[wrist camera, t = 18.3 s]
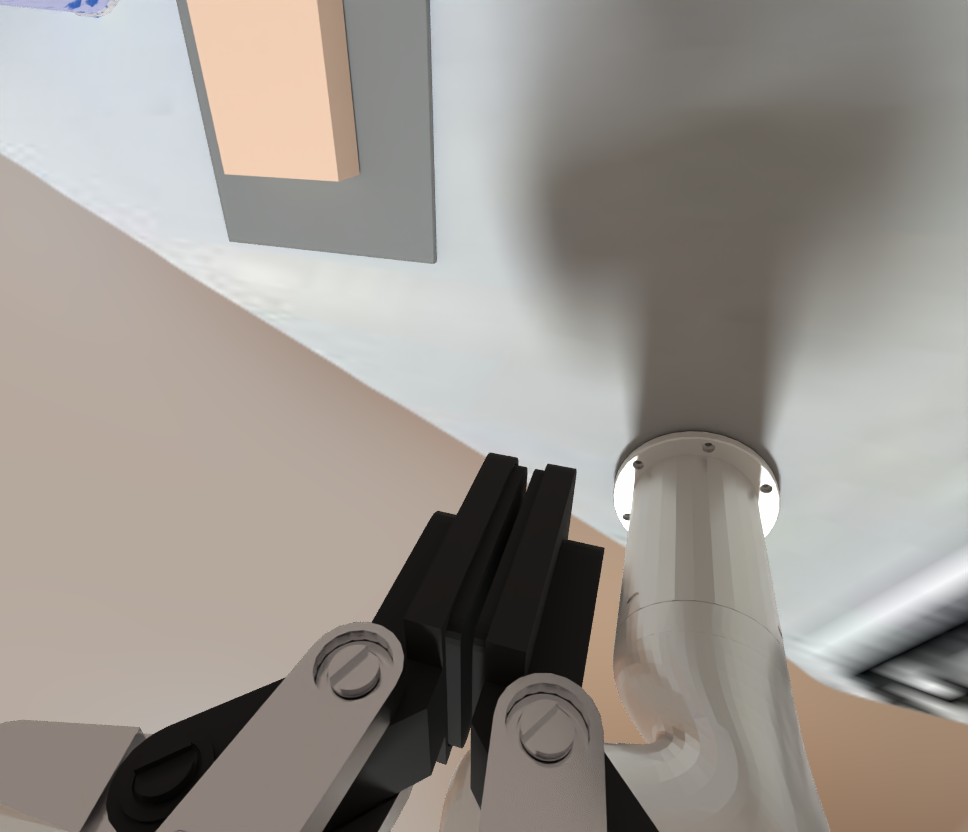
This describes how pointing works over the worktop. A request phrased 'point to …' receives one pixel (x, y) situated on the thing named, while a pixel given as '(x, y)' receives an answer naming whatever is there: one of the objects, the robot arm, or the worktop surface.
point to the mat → (380, 144)
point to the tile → (278, 86)
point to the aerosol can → (68, 6)
